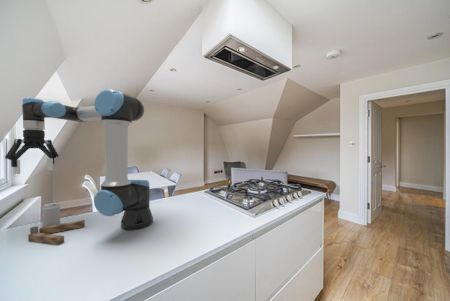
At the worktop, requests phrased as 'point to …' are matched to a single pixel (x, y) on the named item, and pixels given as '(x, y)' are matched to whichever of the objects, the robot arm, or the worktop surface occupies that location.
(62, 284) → the worktop surface
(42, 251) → the worktop surface
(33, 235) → the bar
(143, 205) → the robot arm
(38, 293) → the worktop surface
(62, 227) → the bar
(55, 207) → the beverage can
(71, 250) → the worktop surface
